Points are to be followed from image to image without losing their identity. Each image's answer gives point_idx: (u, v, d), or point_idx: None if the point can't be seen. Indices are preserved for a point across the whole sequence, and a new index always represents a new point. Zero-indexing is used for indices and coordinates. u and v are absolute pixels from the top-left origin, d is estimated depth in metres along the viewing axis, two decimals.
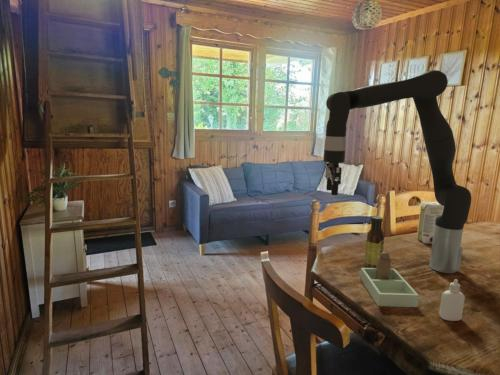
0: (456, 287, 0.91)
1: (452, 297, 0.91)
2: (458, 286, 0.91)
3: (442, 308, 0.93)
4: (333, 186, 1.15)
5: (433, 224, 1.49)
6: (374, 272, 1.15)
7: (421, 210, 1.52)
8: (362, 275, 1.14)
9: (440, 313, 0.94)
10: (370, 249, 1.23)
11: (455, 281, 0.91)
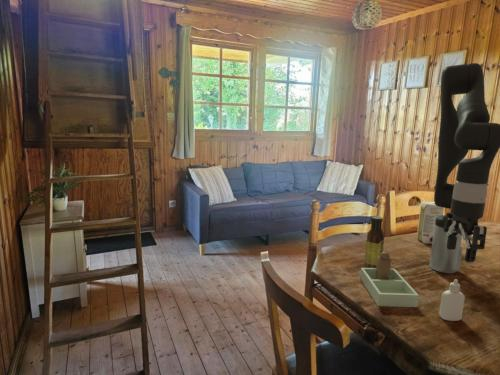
0: (456, 287, 0.91)
1: (452, 297, 0.91)
2: (458, 286, 0.91)
3: (442, 308, 0.93)
4: (470, 250, 0.84)
5: (433, 224, 1.49)
6: (374, 272, 1.15)
7: (421, 210, 1.52)
8: (362, 275, 1.14)
9: (440, 313, 0.94)
10: (370, 249, 1.23)
11: (455, 281, 0.91)
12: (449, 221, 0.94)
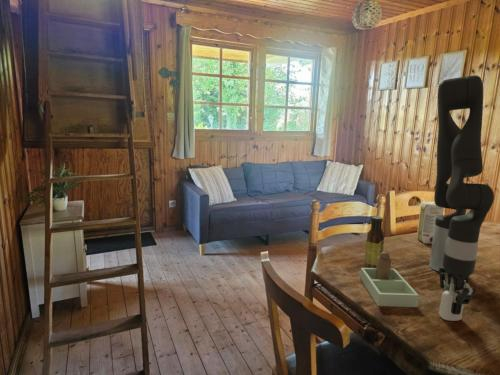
0: None
1: (452, 297, 0.91)
2: None
3: (442, 308, 0.93)
4: (456, 304, 0.90)
5: (433, 224, 1.49)
6: (374, 272, 1.15)
7: (421, 210, 1.52)
8: (362, 275, 1.14)
9: (440, 313, 0.94)
10: (370, 249, 1.23)
11: None
12: (443, 276, 0.96)
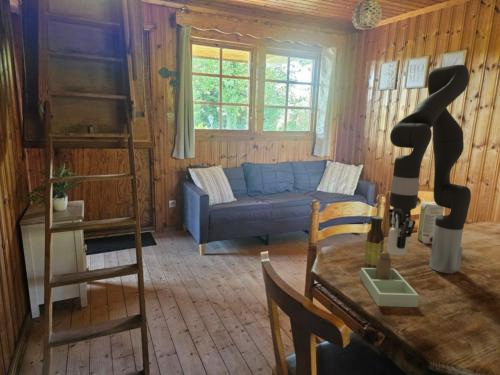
0: None
1: (397, 232, 0.98)
2: None
3: (389, 244, 1.00)
4: (400, 238, 0.97)
5: (433, 224, 1.49)
6: (374, 272, 1.15)
7: (421, 210, 1.52)
8: (362, 275, 1.14)
9: (387, 249, 1.01)
10: (370, 249, 1.23)
11: None
12: (392, 216, 1.03)
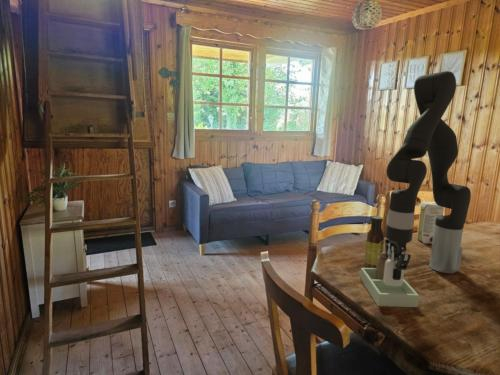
0: None
1: (393, 264, 1.00)
2: None
3: (385, 275, 1.02)
4: (396, 270, 0.99)
5: (433, 224, 1.49)
6: (374, 272, 1.15)
7: (421, 210, 1.52)
8: (362, 275, 1.14)
9: (383, 279, 1.03)
10: (370, 249, 1.23)
11: None
12: (388, 246, 1.05)
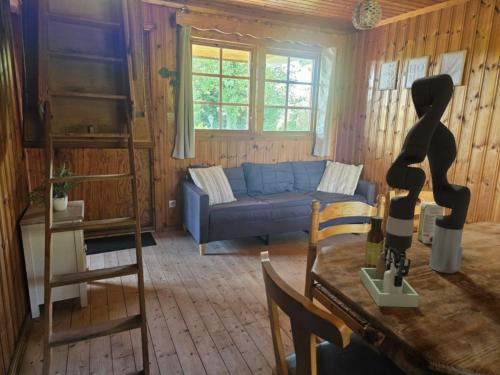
0: None
1: (392, 276, 1.01)
2: None
3: (384, 286, 1.03)
4: (397, 277, 0.98)
5: (433, 224, 1.49)
6: (374, 272, 1.15)
7: (421, 210, 1.52)
8: (362, 275, 1.14)
9: (383, 291, 1.04)
10: (370, 249, 1.23)
11: None
12: (387, 251, 1.06)
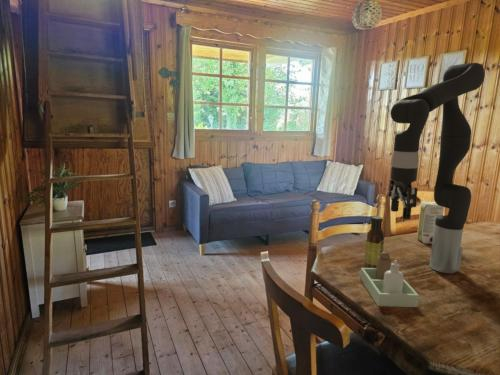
0: (395, 267, 1.00)
1: (392, 276, 1.01)
2: (397, 266, 1.00)
3: (384, 286, 1.03)
4: (406, 209, 0.99)
5: (433, 224, 1.49)
6: (374, 272, 1.15)
7: (421, 210, 1.52)
8: (362, 275, 1.14)
9: (383, 291, 1.04)
10: (370, 249, 1.23)
11: (395, 261, 1.01)
12: (392, 187, 1.09)
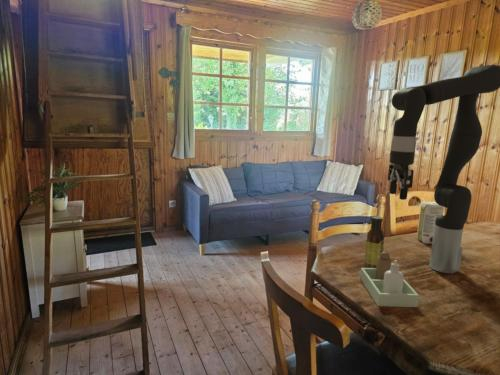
0: (395, 267, 1.00)
1: (392, 276, 1.01)
2: (397, 266, 1.00)
3: (384, 286, 1.03)
4: (402, 190, 1.07)
5: (433, 224, 1.49)
6: (374, 272, 1.15)
7: (421, 210, 1.52)
8: (362, 275, 1.14)
9: (383, 291, 1.04)
10: (370, 249, 1.23)
11: (395, 261, 1.01)
12: (391, 171, 1.16)
